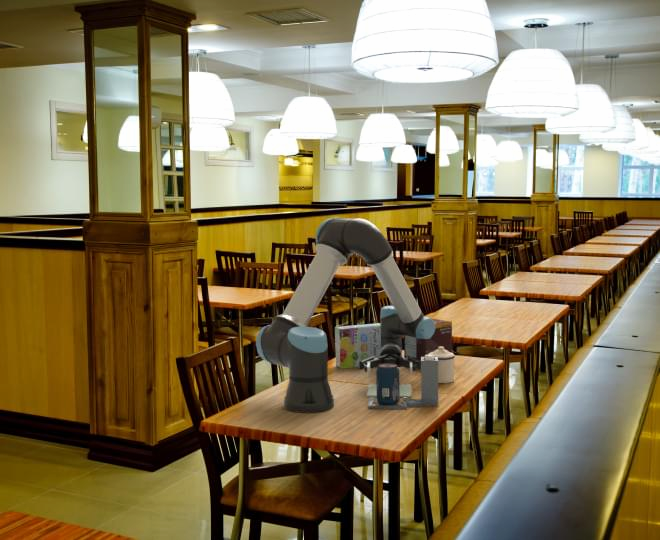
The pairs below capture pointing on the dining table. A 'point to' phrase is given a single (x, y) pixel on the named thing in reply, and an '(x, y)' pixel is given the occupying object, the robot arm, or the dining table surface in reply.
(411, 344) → the supplement box
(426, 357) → the plunger
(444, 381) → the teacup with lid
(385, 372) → the soda can
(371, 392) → the pad
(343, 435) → the dining table surface
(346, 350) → the snack box
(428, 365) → the grey l-shaped piece
